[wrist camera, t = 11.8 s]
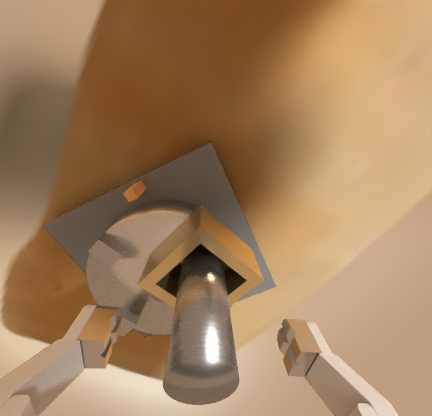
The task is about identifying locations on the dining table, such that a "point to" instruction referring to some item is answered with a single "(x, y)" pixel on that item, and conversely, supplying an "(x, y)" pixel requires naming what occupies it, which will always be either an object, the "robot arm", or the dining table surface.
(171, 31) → the dining table surface
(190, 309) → the steel pin
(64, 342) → the robot arm
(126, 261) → the grey round chuck
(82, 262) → the base
